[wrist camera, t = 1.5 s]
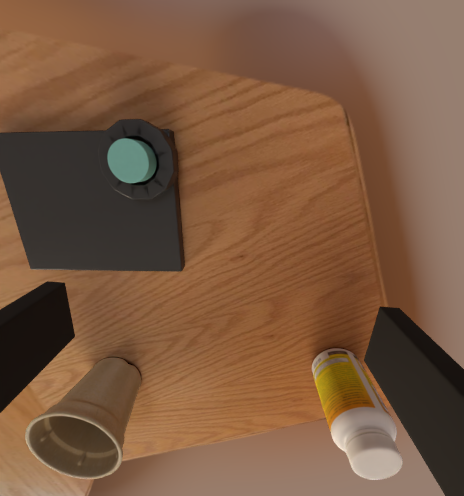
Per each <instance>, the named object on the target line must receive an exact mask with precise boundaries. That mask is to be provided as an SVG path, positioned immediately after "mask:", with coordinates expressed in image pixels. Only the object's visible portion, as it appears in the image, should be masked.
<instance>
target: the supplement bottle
mask: <svg viewBox="0 0 464 496" xmlns="http://www.w3.org/2000/svg"><path fill="white" fill-rule="evenodd" d="M312 374H313V378H314V381H315V384H316V387H317V390H318V394H319V397H320V400H321V403H322V407H323V410H324V413H325V416H326V419H327V423H328V426H329V429H330V433H331V435H332V438H333V440H334V442H335V444H336V445H337V446H338V447H339V448H340V449H341V450H343V451H344V452H346V454H347V457H348V458H349V461H350V464H351V467H352V469H353V471H354V472H355V473H356V474H357V475H359V476H361V477H363V478H366V479H372V480H379V479H385V478H388V477H391V476H392V475H394V474H396V473H397V472H398V471H399V470H400V469H401V467H402V463H403V460H402V457H401V455H400V453H399V451H398V449H397V447H396V444H395V442H394V441H395V439H396V434H397V430H396V425H395V423H394V421H393V419H392V417H391V415H390V414H389V412H388V410H387V408H386V407H385V405H384V403H383V401H382V399H381V398H380V396H379V394H378V392H377V391H376V389H375V387H374V385H373V384H372V382H371V380H370V378H369V376H368V375H367V373H366V371H365V369H364V368H363V366H362V364H361V362H360V361H359V359H358V358H357V357H356V355H354V354H353V353H352V352H350V351H348V350H345V349H340V348H333V349H328V350H325V351H323V352H322V353H320V354H319V355H318V356H317V357H316V358H315V359H314V361H313V364H312Z"/></svg>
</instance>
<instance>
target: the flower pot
mask: <svg viewBox="0 0 464 496" xmlns="http://www.w3.org/2000/svg"><path fill="white" fill-rule="evenodd" d="M140 384H141V376H140V373H139V371H138V370H137V368H136V367H135V366H132V365H130V364H128V363H127V362H126V361H125V360H124V359H120V358H113V357H112V358H105V359H102V360H100V361H99V362H98V363H97V364H96V365H94V367H93V368H92V369H91V370H90V371H89V372H88V373H87V374H86V375H85V376H84V377H83V378H82V379H81V380H80V381H79V382H78V383H77V384H76V385H75V386H74V387H73V388H72V389H71V390H70V391H69V392H68V393H67V394H66V395H65V396H64V397H63V398H62V399H61V400H60V401H59V402H58V403H57V404H56V405H54V406H52V407H51V408H49V409H48V410H47V411H46V412H45V413H44V414H41V415H39V416H38V417H36V418H35V419H34V420H32V422H31V423H30V424H29V426H28V427H27V429H26V434H25V439H26V442H27V446H28V447H29V450H30V451H31V452H32V453H33V454H34V456H35V457H36V458H37V459H38V460H40V461H41V462H42V463H43V464H44V465H46V466H48V467H49V468H51V469H53V470H55V471H57V472H59V473H61V474H64V475H67V476H70V477H74V478H81V479H96V478H101V477H104V476H106V475H110V474H112V473H113V472H115V470H117V469H118V467H119V466H120V464H121V461H122V457H123V451H122V447H123V444H124V433H125V430H126V427H127V424H128V421H129V418H130V415H131V412H132V408H133V405H134V402H135V399H136V396H137V393H138V390H139V387H140Z"/></svg>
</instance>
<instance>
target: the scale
mask: <svg viewBox="0 0 464 496" xmlns="http://www.w3.org/2000/svg"><path fill="white" fill-rule="evenodd" d="M123 138H128V139H133V140H138V141H142V142H144V143H146V144H147V145H148V146H149V147H150V148H151V149H152V150H153V152H154V154H155V157H156V161H157V165H156V170H155V173H154V174H153V176H152V177H151V178H149V179H148V180H146V181H142V182H136V183H126V182H123V181H121V180H120V179H118V178H117V177H116V176H115V175H114V174H113V173H112V171H111V169H110V167H109V165H108V159H107V158H108V151H109V148H110V147H111V145H112V144H113V143H114V142H115V141H117V140H119V139H123ZM178 170H179V167H178V155H177V150H176V148H175V142H174V132H173V131H172V130H169V129H159V128H158V127H156V126H154V125H152V124H151V123H149V122H147V121H144V120H141V119H125V120H119V121H118V122H116V123H115V124H114V125H112V126H111V127H110V128H109V129H107V130H106V131H58V132H11V133H0V172H1V175H2V178H3V182H4V185H5V188H6V191H7V194H8V198H9V201H10V204H11V207H12V210H13V214H14V217H15V220H16V223H17V226H18V230H19V233H20V236H21V239H22V242H23V246H24V249H25V252H26V255H27V258H28V262H29V265H30V268H31V269H35V270H111V271H182V270H183V268H184V266H185V262H184V250H183V238H182V226H181V214H180V202H179V190H178V178H177V174H178V172H179V171H178Z"/></svg>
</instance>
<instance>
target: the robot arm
mask: <svg viewBox="0 0 464 496" xmlns="http://www.w3.org/2000/svg"><path fill="white" fill-rule="evenodd" d="M74 337H75V334H74V329H73V323H72V318H71V313H70V308H69V302H68V297H67V292H66V287H65V283H60V282H45V283H44V284H42V285H41V286H39V287H37V288H36V289H34V290H32V291H31V292H29V293H27V294H26V295H24V296H22V297H21V298H19V299H17V300H16V301H14V302H12V303H11V304H9V305H7V306H6V307H4V308H2V309H1V310H0V413H1V412H2V411H3V410H4V409H5V408H6V407H7V406H8V405H9V404H10V403H11V401H12V400H13V399H14V398H15V397H16V396H17V395H18V394H19V393H20V392H21V391H22V390H23V389H24V388H25V387H26V386H27V385H28V384H29V383H30V382H31V381H32V380H33V379H34V378H35V377H36V376H37V375H38V374H39V373H40V372H41V371H42V370H43V369H44V368H45V367H46V366H47V365H48V364H49V363H50V362H51V361H52V360H53V358H54V357H55V356H56V355H57V354H58V353H59V352H60V351H61V350H62V349H63V348H64V347H65V346H66V345H67V344H68V343H69V342H70V341H71V340H72V339H73V338H74ZM364 361H365V363H366V364H367V366H368V368H369V369H370V371H371V373H372V374H373V376H374V378H375V379H376V381H377V383H378V384H379V386H380V388H381V389H382V391H383V393H384V394H385V396H386V398H387V399H388V401H389V403H390V404H391V406H392V407H393V409H394V411H395V413H396V414H397V416H398V418H399V419H400V421H401V423H402V424H403V426H404V428H405V429H406V431H407V432H408V434H409V436H410V438H411V439H412V441H413V442H414V444H415V446H416V447H417V449H418V451H419V452H420V454H421V456H422V458H423V459H424V461H425V462H426V464H427V466H428V467H429V469H430V471H431V472H432V474H433V476H434V478H435V479H436V481H437V483H438V484H439V486H440V487H441V489H442V491H443V493H444V494H445V496H464V369H463V368H462V367H461V366H460V365H459V364H457V363H456V362H455V361H454V360H453V359H452V358H451V357H450V356H449V355H448V354H447V353H446V352H445V351H444V350H443V349H442V348H441V347H440V346H438V345H437V344H436V343H435V342H434V341H433V340H432V339H431V338H430V337H429V336H428V335H427V334H426V333H425V332H424V331H423V330H422V329H420V328H419V327H418V326H417V325H416V324H415V323H414V322H413V321H412V320H411V319H410V318H409V317H408V316H407V315H406V314H405V313H404V312H403V311H402V310H400V309H399V308H390V307H380V308H379V312H378V315H377V318H376V322H375V325H374V328H373V332H372V335H371V339H370V342H369V345H368V349H367V352H366V355H365V359H364Z"/></svg>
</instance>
